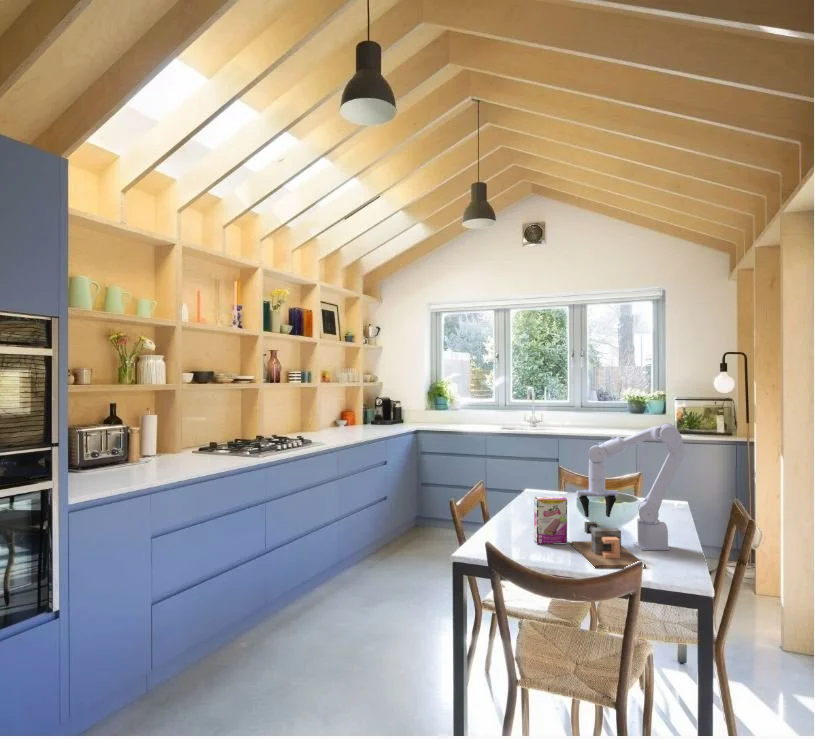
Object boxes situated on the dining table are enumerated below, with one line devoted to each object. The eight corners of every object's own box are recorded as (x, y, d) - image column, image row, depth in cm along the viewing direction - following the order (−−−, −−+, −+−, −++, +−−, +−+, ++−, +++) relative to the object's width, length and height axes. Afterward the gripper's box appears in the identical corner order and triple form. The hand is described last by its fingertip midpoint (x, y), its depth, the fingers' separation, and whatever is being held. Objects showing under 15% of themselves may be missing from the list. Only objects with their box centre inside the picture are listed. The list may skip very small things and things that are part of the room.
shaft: (594, 531, 211) (594, 521, 211) (610, 544, 194) (610, 534, 194) (584, 531, 211) (584, 521, 211) (599, 545, 194) (599, 534, 194)
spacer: (601, 554, 191) (616, 554, 190) (605, 558, 187) (619, 558, 187) (601, 536, 191) (615, 536, 191) (604, 539, 187) (619, 539, 187)
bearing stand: (616, 544, 206) (615, 519, 206) (645, 568, 180) (645, 540, 180) (571, 544, 206) (571, 519, 206) (594, 568, 180) (594, 540, 180)
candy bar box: (537, 545, 206) (536, 499, 206) (533, 541, 211) (533, 496, 211) (568, 544, 206) (567, 498, 206) (563, 540, 211) (563, 495, 211)
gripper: (580, 480, 205) (580, 519, 204) (621, 480, 204) (621, 519, 204) (574, 477, 212) (574, 514, 211) (613, 477, 212) (614, 514, 211)
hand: (597, 516), depth 208 cm, fingers open, 7 cm apart
